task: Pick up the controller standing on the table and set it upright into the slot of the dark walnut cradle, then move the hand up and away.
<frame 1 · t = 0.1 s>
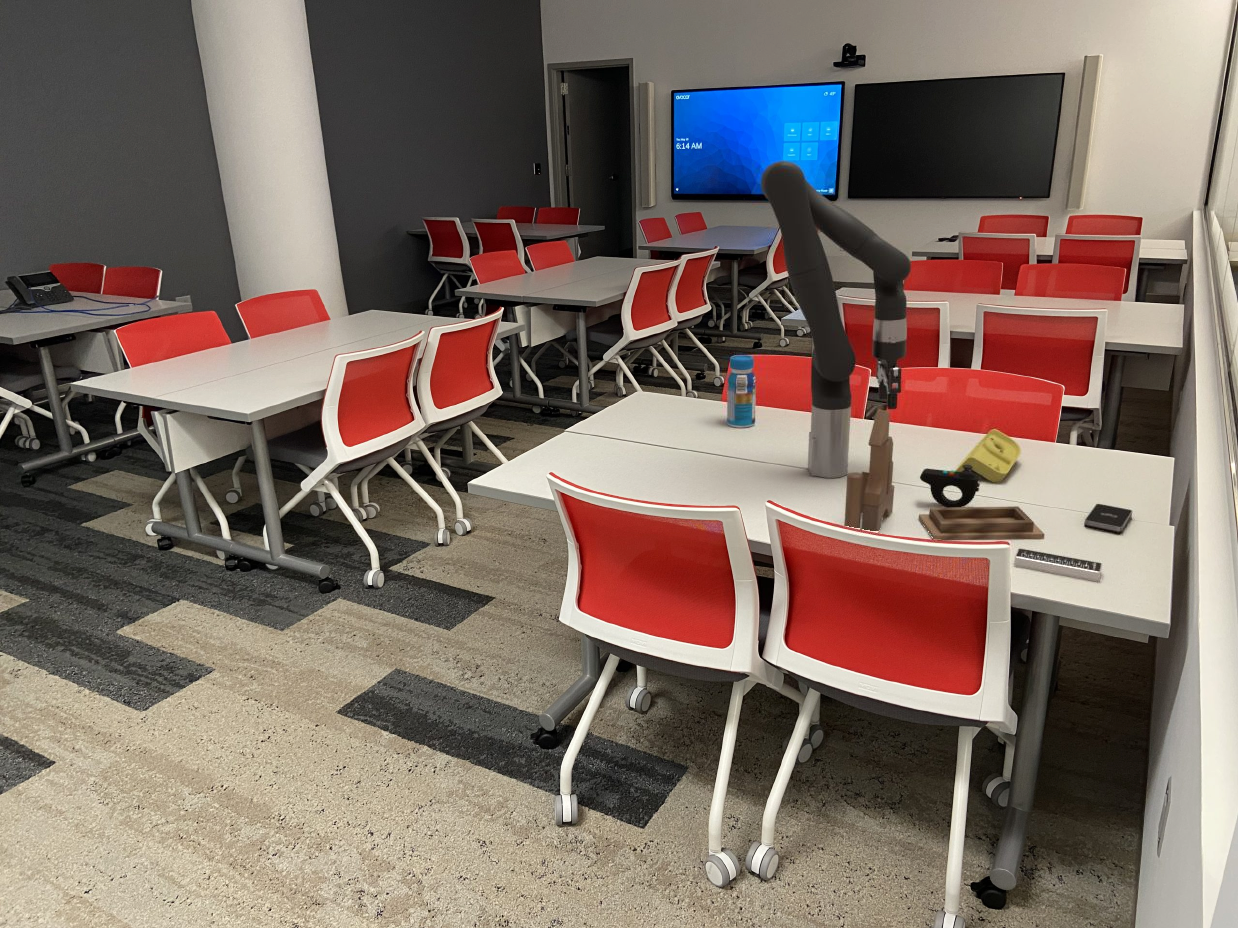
hand: (887, 403, 211), 17 cm above the table, tool pointing down, fingers open, 8 cm apart
multiport hub: (1056, 571, 166), on the table
plastic component: (989, 470, 216), on the table
cradle: (979, 528, 184), on the table
controller: (946, 507, 195), on the table
wooden toy: (867, 523, 189), on the table
beverage bottle: (741, 424, 258), on the table
external hard drive: (1107, 524, 184), on the table
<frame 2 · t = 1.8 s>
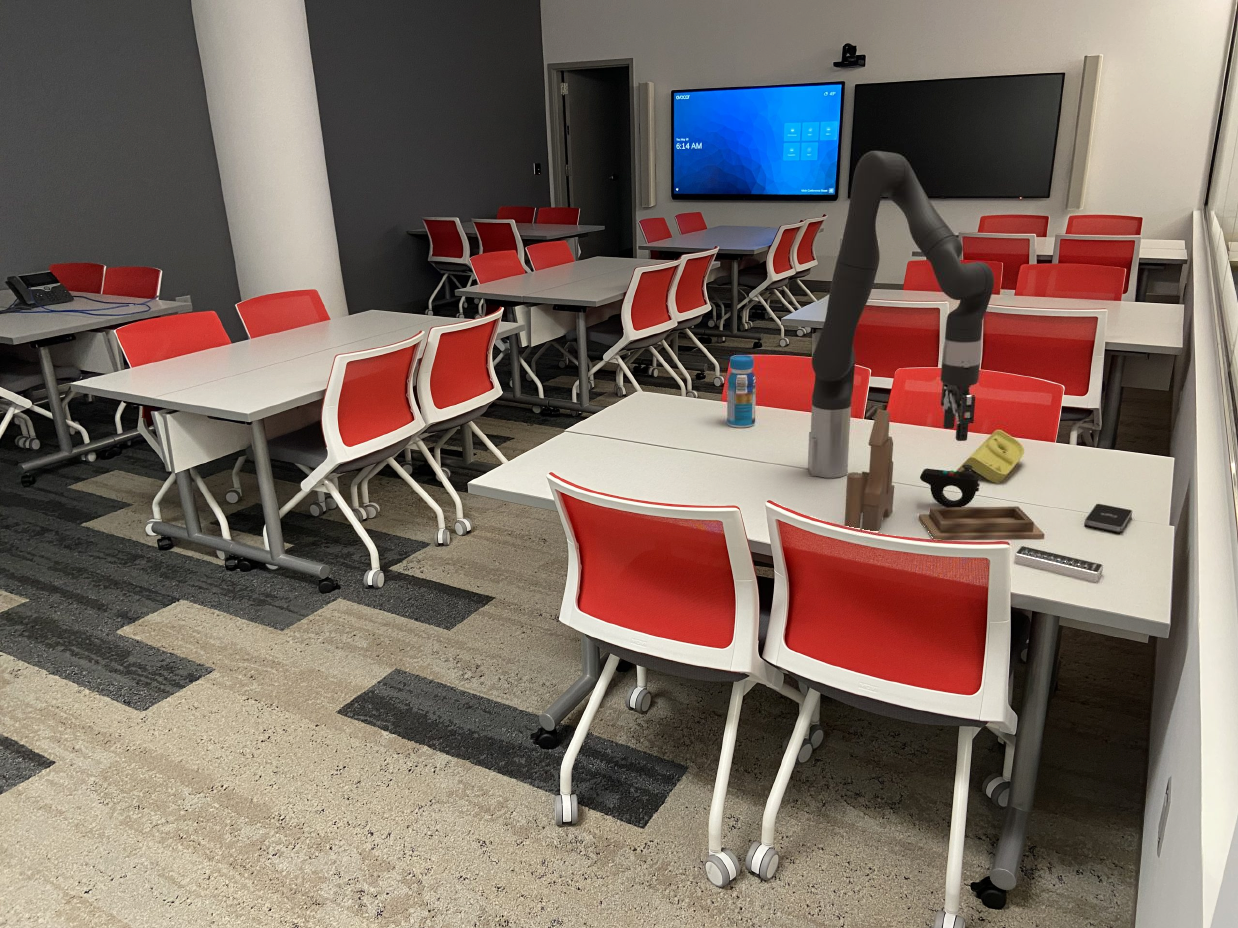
hand: (954, 434, 190), 17 cm above the table, tool pointing down, fingers open, 8 cm apart
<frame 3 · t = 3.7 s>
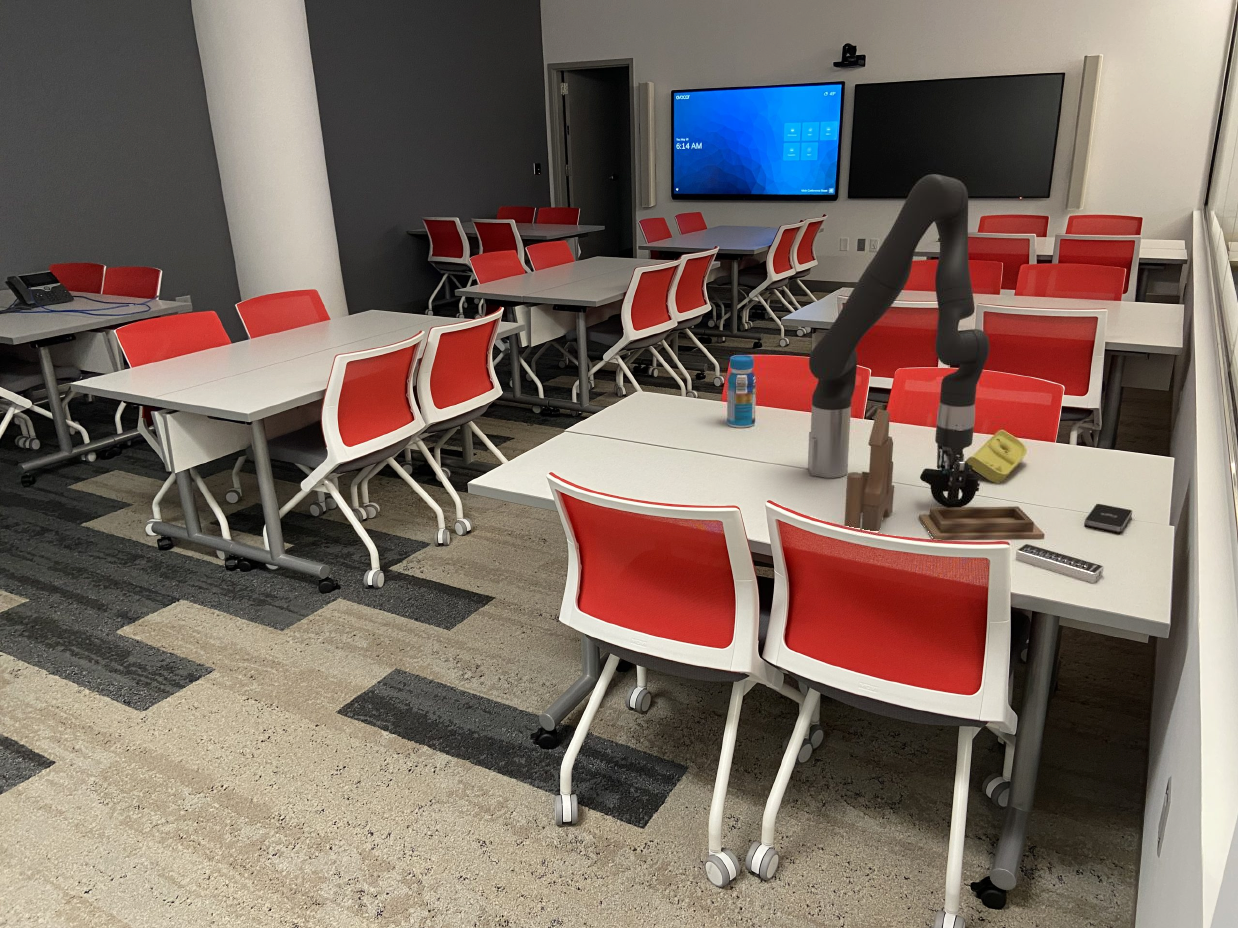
hand: (948, 495, 194), 3 cm above the table, tool pointing down, fingers closed on controller, 5 cm apart
controller: (947, 507, 195), on the table, touching gripper
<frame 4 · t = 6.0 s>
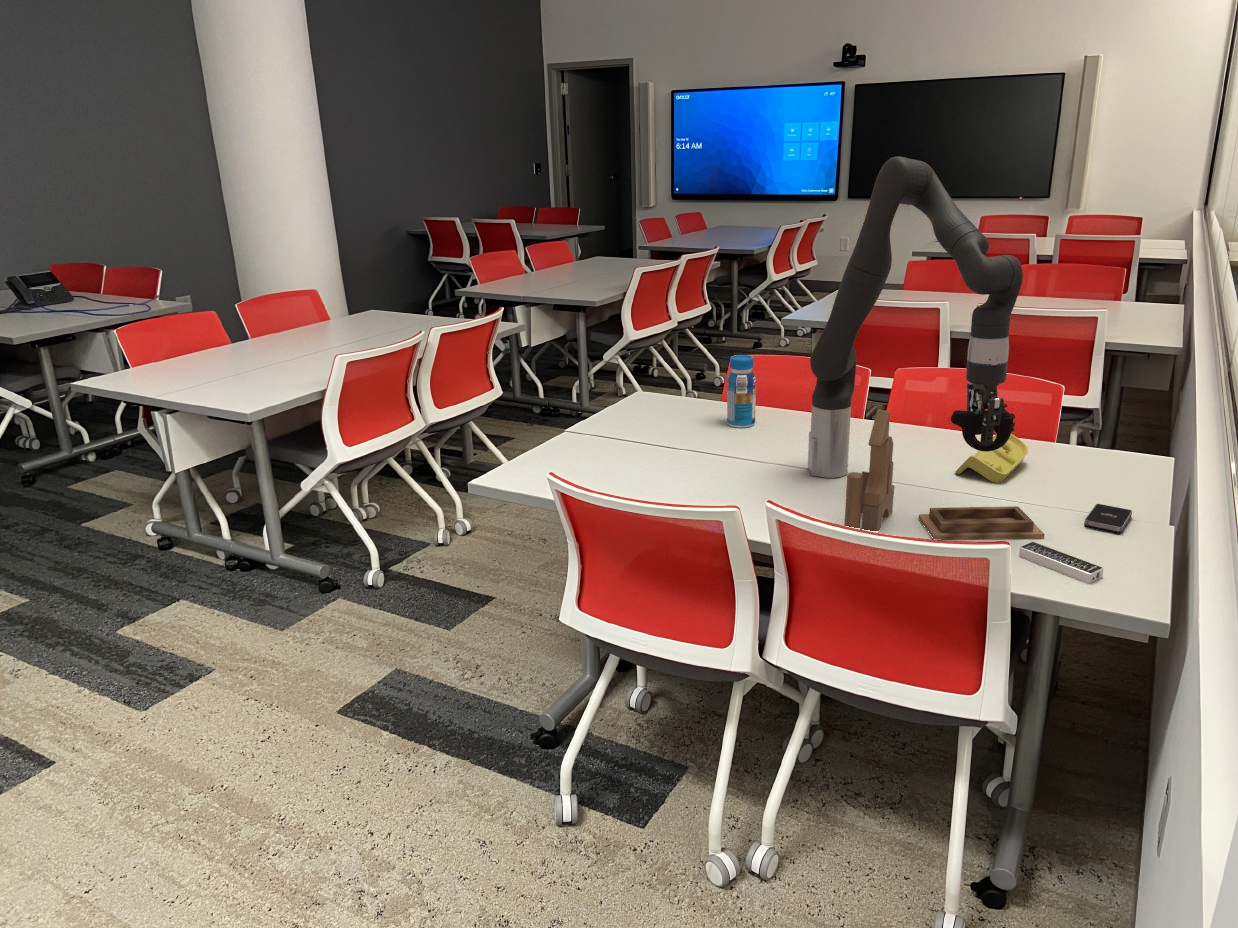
hand: (981, 438, 182), 18 cm above the table, tool pointing down, fingers closed on controller, 5 cm apart
controller: (979, 450, 183), point 16 cm above the table, touching gripper
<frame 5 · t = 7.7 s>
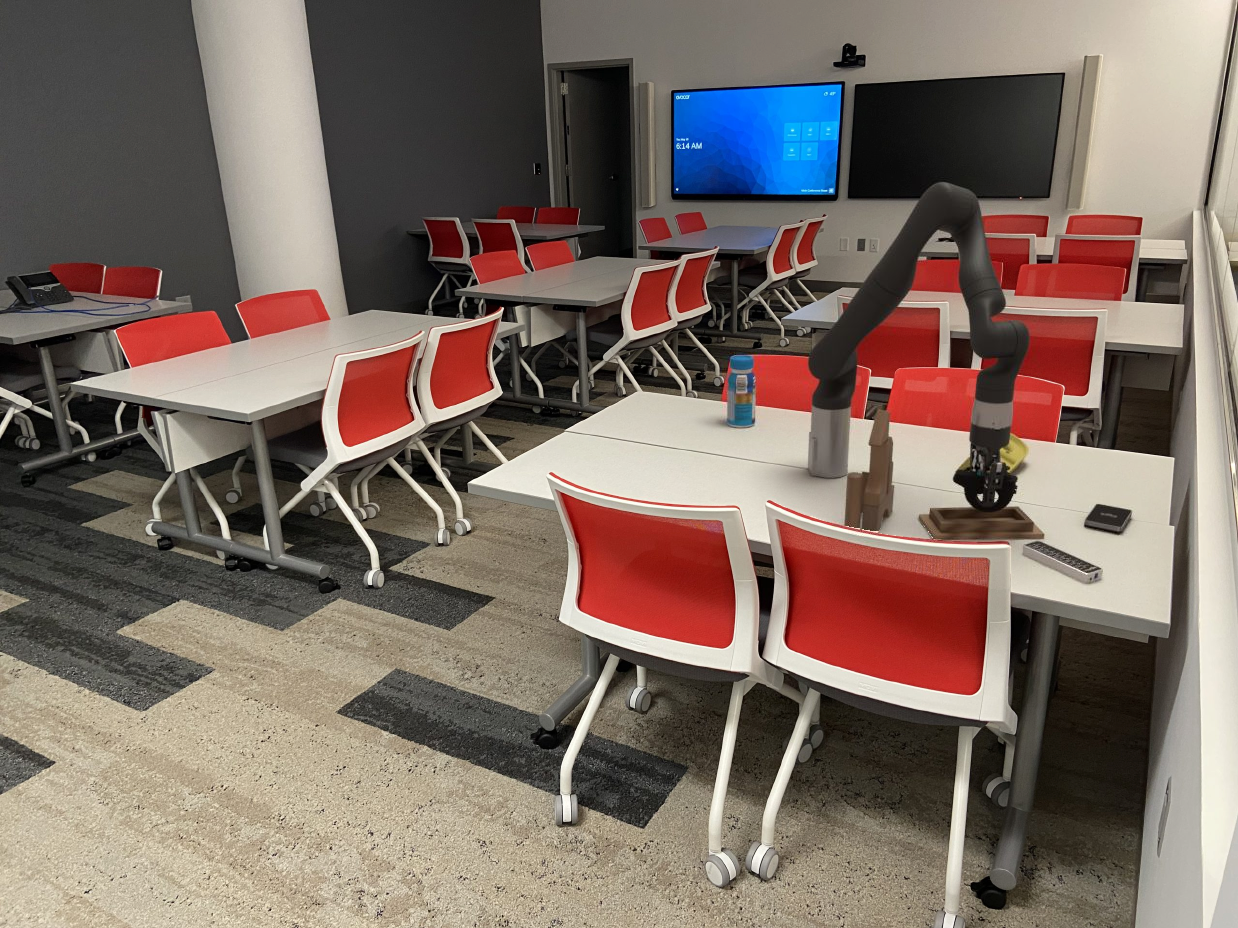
hand: (982, 498, 182), 7 cm above the table, tool pointing down, fingers closed on controller, 5 cm apart
controller: (981, 511, 183), point 4 cm above the table, touching gripper
when the fingers open (5 cm above the table, at t = 8.4 s): controller drops 1 cm, resting on cradle.
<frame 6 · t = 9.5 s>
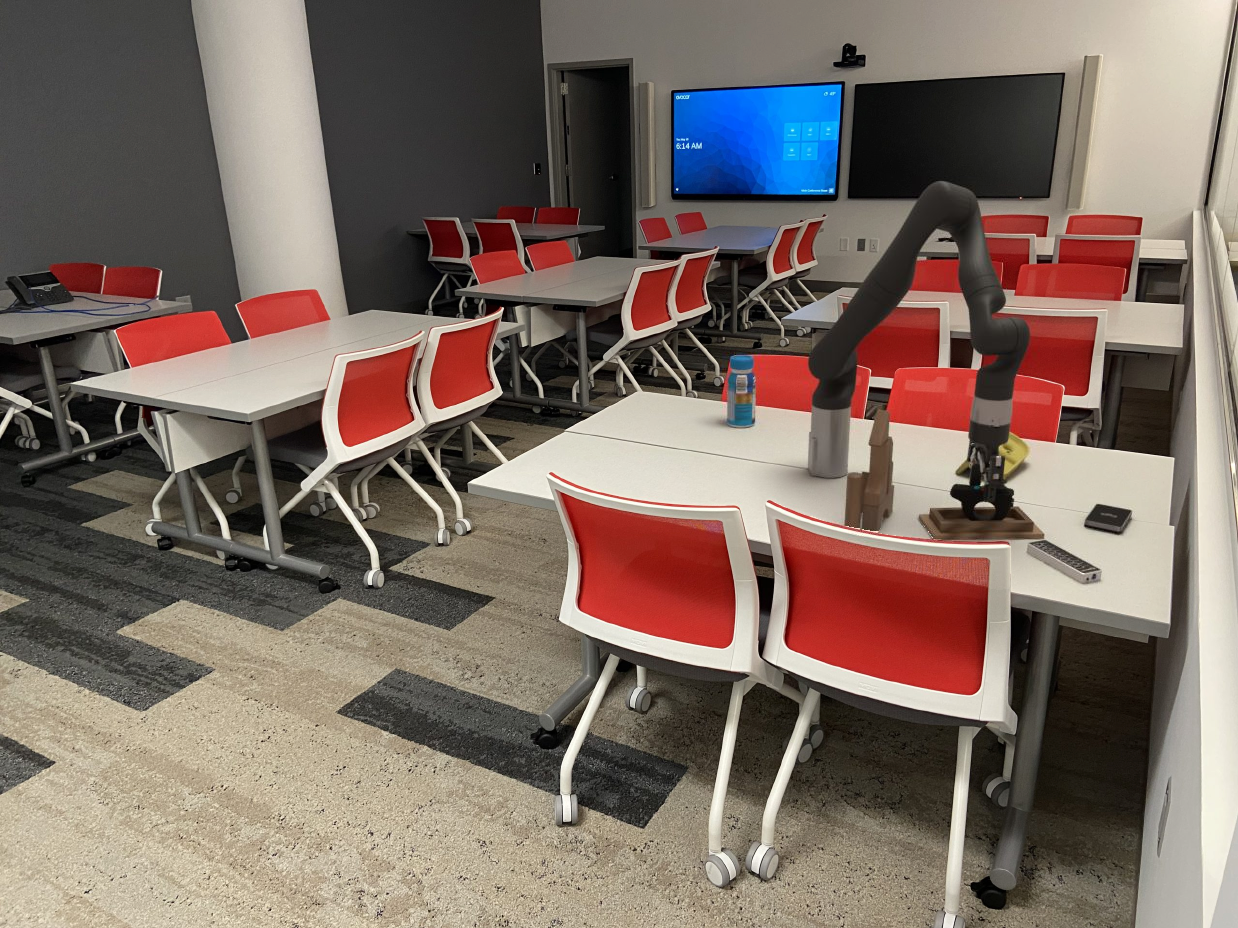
hand: (981, 493, 181), 8 cm above the table, tool pointing down, fingers open, 8 cm apart
controller: (978, 524, 184), point 1 cm above the table, touching cradle
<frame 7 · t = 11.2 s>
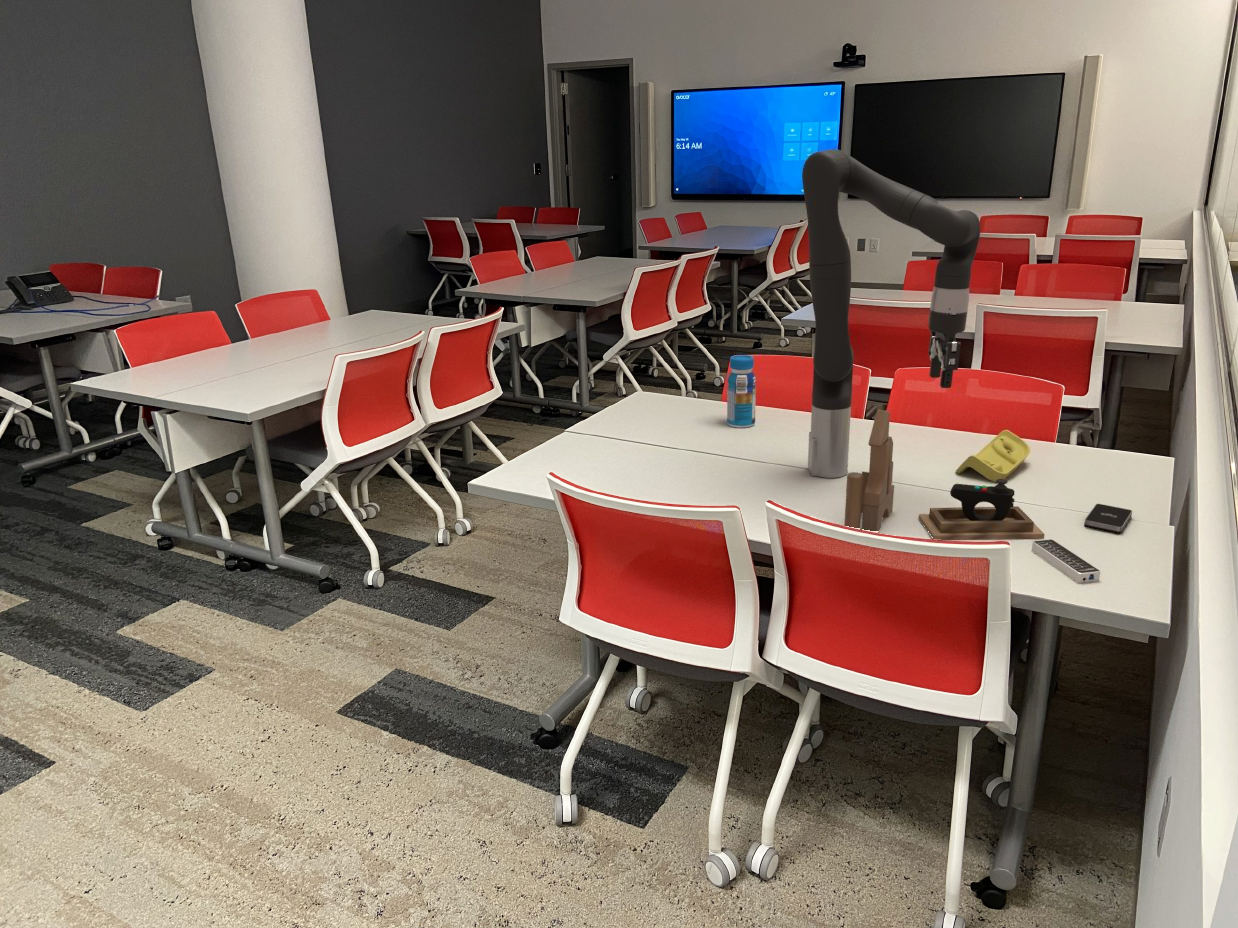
hand: (939, 382, 193), 27 cm above the table, tool pointing down, fingers open, 8 cm apart
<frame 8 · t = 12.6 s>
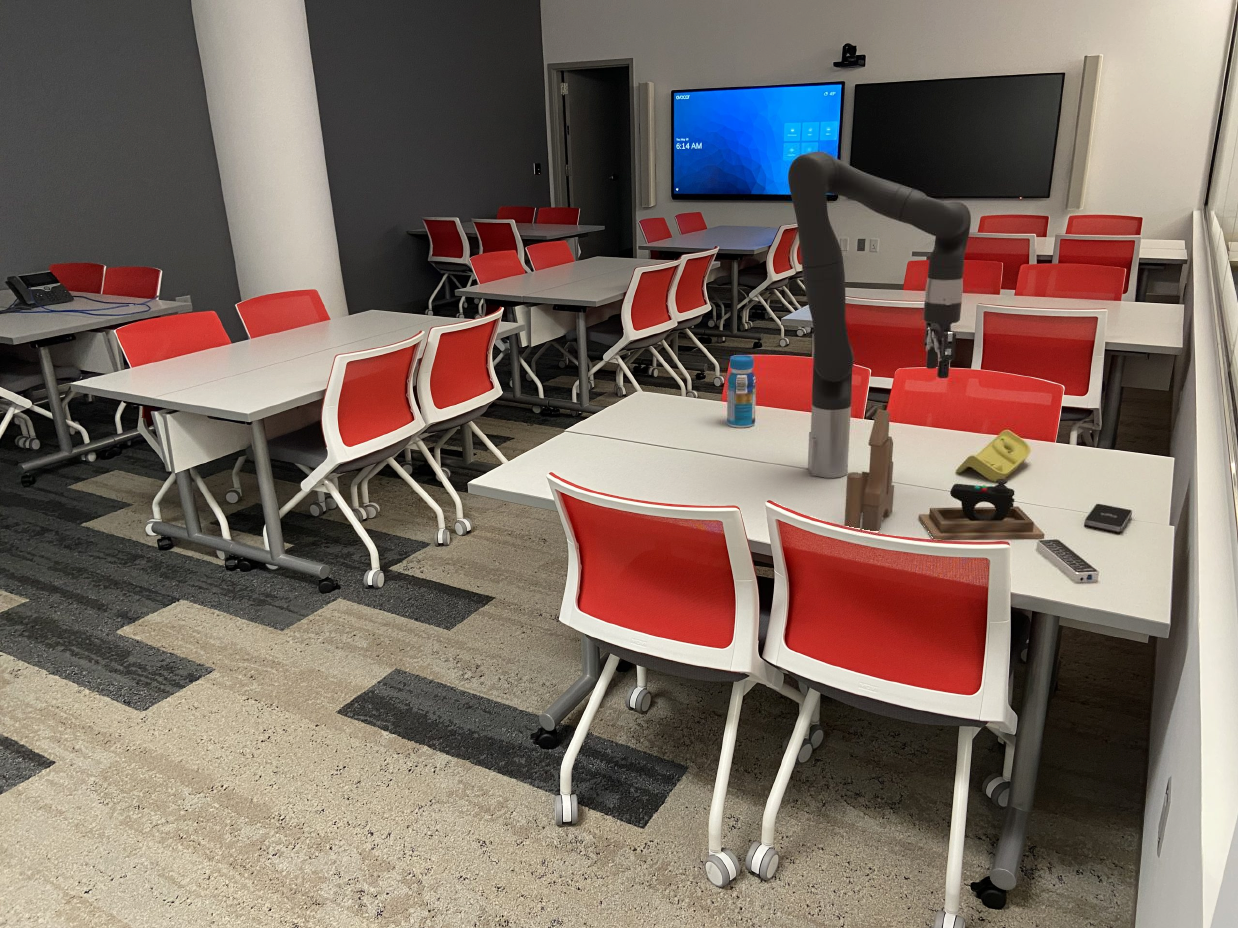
hand: (936, 373, 194), 28 cm above the table, tool pointing down, fingers open, 8 cm apart
at the end: controller 0.1 cm off-centre on the cradle, point 0.8 cm above the cradle's base; controller tilted 0°; the gripper is holding nothing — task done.
